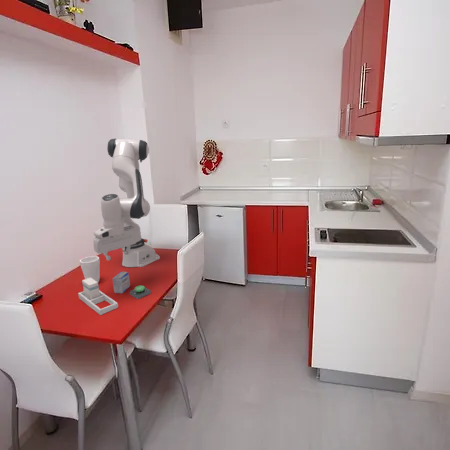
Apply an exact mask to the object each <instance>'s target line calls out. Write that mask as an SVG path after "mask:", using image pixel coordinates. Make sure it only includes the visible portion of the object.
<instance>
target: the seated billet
mask: <svg viewBox="0 0 450 450" xmlns="http://www.w3.org/2000/svg"><path fill="white" fill-rule="evenodd" d="M81 280H82V281H81V283H82V287H83V291H84V294H85V297H86V298H87V299H89V300H92V299H95V298H97V297H100V293H99V290H100V289H99V288H100V287H99V282H97V281H95V280H94V279H92V278H88V279H85V278H84V279H81Z"/></svg>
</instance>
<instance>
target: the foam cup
mask: <svg viewBox="0 0 450 450" xmlns="http://www.w3.org/2000/svg"><path fill="white" fill-rule="evenodd" d="M100 264H101V263H100V257H99V256H97V255H92V256H91V255H90V256H86V257H85V256H84V257H83V258H81V259H79V265H80V267H81V271H82V273H83V277H84V280H85V279H88V278H92V279H94V280H95V281H97V282H98V283H99V282H100V276H101V275H100V273H101V272H100Z"/></svg>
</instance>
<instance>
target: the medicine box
mask: <svg viewBox="0 0 450 450" xmlns="http://www.w3.org/2000/svg"><path fill="white" fill-rule="evenodd" d="M112 286H113V291H114V294H123V293H125V291H127V290H128V289H129V288H130V287H131V282H130V276H129V272H128V271H120V272H118V273H117V275H115V276H114V277H113V278H112Z"/></svg>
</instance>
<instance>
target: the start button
mask: <svg viewBox="0 0 450 450" xmlns="http://www.w3.org/2000/svg"><path fill="white" fill-rule="evenodd" d="M145 288H146V287H145V286H144V285H141V284H140V285H137V286H135V287H134V289H135V291H136V292H139V293H140V292H142V291H144V290H145Z"/></svg>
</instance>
